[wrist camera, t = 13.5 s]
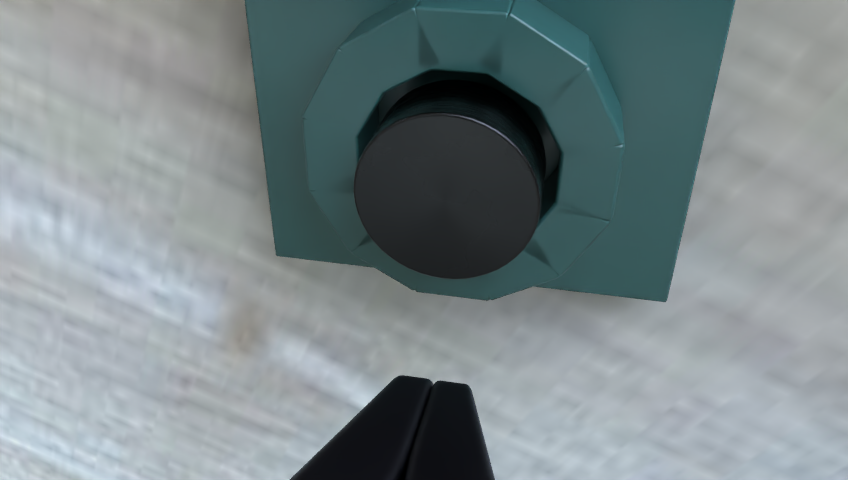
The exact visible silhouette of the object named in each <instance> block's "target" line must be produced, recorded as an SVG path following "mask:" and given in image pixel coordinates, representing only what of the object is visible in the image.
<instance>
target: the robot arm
mask: <svg viewBox="0 0 848 480" xmlns="http://www.w3.org/2000/svg"><path fill="white" fill-rule="evenodd" d="M290 480H495V478H494V474H493V471H492V467H491V463H490V459H489V455H488V451H487V448H486V444H485V440H484V436H483V432H482V428H481V425H480V421H479V417H478V413H477V409H476V405H475V402H474V398H473V394H472V390H471V388H470V387H469V386H468V385H466V384H461V383H454V382H447V381H437V382H435V384H434V385H433V383H432V381H430V380H429V379H425V378H418V377H411V376H404V375H401V376H398V377H396V378H394V379H393V380H392V381H391V382H390V383H389V384H388V385H387V386H386V387H385V388H384V389H383V390H382V391H381V392H380V393H379V394H378V395H377V396H376V397H375V398H374V399H373V400H372V401H371V402H370V403H368V404H367V405H366V406H365V407H364V408H363V409H362V410H361V411H360V412H359V413H358V414H357V415H356V416H355V417H354V418H353V419H352V420H351V421H350V422H349V423H348V424H347V425H346V426H345V427H344V428H343V429H342V430H341V431H340V432H338V433H337V434H336V435H335V436H334V437H333V438H332V439H331V440H330V441H329V442H328V443H327V444H326V445H325V446H324V447H323V448H322V449H321V450H320V451H319V452H318V453H317V454H316V455H315V456H314V457H313V458H312V459H311V460H310V461H309V462H307V463H306V464H305V465H304V466H303V467H302V468H301V469H300V470H299V471H298V472H297V473H296V474H295V475H294V476H293V477H292V478H291V479H290Z"/></svg>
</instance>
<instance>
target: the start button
mask: <svg viewBox="0 0 848 480" xmlns="http://www.w3.org/2000/svg"><path fill="white" fill-rule="evenodd" d="M545 173H546V155H545V149H544V145H543V141H542V138H541V136H540V133H539V131H538V129H537V127H536V125H535V124H534V122H533V120H532V119H531V118H530V116H529V115H528V114H527V113H526V111H525V110H524V109H523V108H522V107H521V106H520V105H519V104H518V103H517V102H515V101H514V100H513V99H511V98H510V97H509V96H507V95H506V94H504V93H502V92H500V91H499V90H497V89H495V88H492V87H490V86H487V85H485V84H481V83H477V82H474V81H467V80H442V81H436V82H432V83H428V84H425V85H422V86H420V87H417V88H415V89H413V90H412V91H410V92H408V93H406V94H405V95H404V96H403V97H401V98H400V99H399V100H398V101H397V102H396V103H395V104H394V105H393V106H392V107H391V108H390V109H389V111H388V112H387V113H386V115H385V116H384V118H383V120H382V121H381V123H380V125H379V126H378V128H377V129H376V131H375V133H374V134H373V136H372V138H371V139H370V141H369V143H368V144H367V146H366V148H365V149H364V151H363V153H362V155H361V157H360V159H359V161H358V164H357V167H356V170H355V176H354V189H353V192H354V200H355V205H356V209H357V212H358V215H359V218H360V220H361V222H362V225H363V226H364V228H365V230H366V232H367V233H368V235H369V236H370V237H371V239H372V240H373V241H374V243H375V244H376V245H377V246H378V247H379V248H380V249H381V250H382V251H383V252H384V253H386V254H387V255H388V256H389V257H390V258H392V259H393V260H395V261H396V262H398V263H399V264H401V265H403V266H405V267H407V268H409V269H411V270H413V271H416V272H418V273H421V274H424V275H428V276H431V277H437V278H442V279H468V278H474V277H479V276H482V275H486V274H489V273H491V272H494V271H496V270H498V269H500V268H502V267H503V266H505V265H507V264H508V263H510V262H511V261H512V260H513V259H515V258H516V257H517V256H518V255H519V254H520V253H521V252H522V251H523V250H524V249H525V247H526V246H527V245H528V243H529V242H530V240H531V238H532V237H533V235H534V233H535V230H536V228H537V225H538V222H539V217H540V211H541V204H542V196H543V188H544V181H545Z"/></svg>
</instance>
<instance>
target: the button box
mask: <svg viewBox="0 0 848 480" xmlns="http://www.w3.org/2000/svg"><path fill="white" fill-rule="evenodd" d="M734 4H735V0H245V8H246V16H247V24H248V32H249V40H250V48H251V56H252V64H253V72H254V81H255V89H256V97H257V105H258V113H259V121H260V129H261V137H262V145H263V154H264V162H265V170H266V178H267V186H268V194H269V202H270V210H271V218H272V227H273V235H274V243H275V251H276V256H281V257H290V258H298V259H307V260H315V261H324V262H332V263H340V264H349V265H357V266H366V267H374V268H376V269H378V270H380V271H381V272H383V273H385V274H386V275H388V276H390V277H391V278H393V279H395V280H396V281H398V282H400V283H401V284H403V285H405V286H407V287H408V288H410V289H412V290H416V291H417V292H422V293H430V294H438V295H446V296H455V297H463V298H471V299H479V300H493V299H497V298H500V297H503V296H506V295H509V294H512V293H515V292H518V291H521V290H524V289H527V288H530V287H533V286H534V287H543V288H551V289H560V290H568V291H576V292H585V293H593V294H602V295H610V296H619V297H627V298H636V299H644V300H652V301H661V302H666V301H667V298H668V294H669V289H670V285H671V280H672V276H673V272H674V267H675V263H676V259H677V254H678V250H679V245H680V241H681V237H682V232H683V228H684V223H685V219H686V215H687V210H688V206H689V202H690V197H691V193H692V188H693V184H694V180H695V175H696V171H697V166H698V162H699V158H700V153H701V149H702V145H703V140H704V136H705V131H706V127H707V123H708V118H709V114H710V109H711V105H712V101H713V96H714V92H715V88H716V83H717V79H718V74H719V70H720V66H721V61H722V57H723V52H724V48H725V44H726V39H727V35H728V31H729V26H730V22H731V17H732V13H733V9H734ZM442 80H467V81H474V82H477V83H481V84H485V85H487V86H490V87H492V88H495V89H497V90H499V91H500V92H502V93H504V94H506V95H507V96H509V97H510V98H511V99H513V100H514V101H515V102H517V103H518V104H519V105H520V106H521V107H522V108H523V109H524V110H525V111H526V113H527V114H528V115H529V116H530V118H531V119H532V120H533V122H534V124H535V125H536V127H537V129H538V131H539V133H540V136H541V138H542V141H543V145H544V149H545V155H546V173H545V181H544V188H543V196H542V204H541V211H540V217H539V222H538V225H537V228H536V230H535V233H534V235H533V237H532V238H531V240H530V242H529V243H528V245H527V246H526V247H525V249H524V250H523V251H522V252H521V253H520V254H519V255H518V256H517V257H516V258H515V259H513V260H512V261H511V262H510V263H508V264H507V265H505V266H503V267H502V268H500V269H498V270H496V271H494V272H491V273H489V274H486V275H482V276H479V277H474V278H468V279H442V278H437V277H431V276H428V275H424V274H421V273H418V272H416V271H413V270H411V269H409V268H407V267H405V266H403V265H401V264H399V263H398V262H396V261H395V260H393V259H392V258H390V257H389V256H388V255H387V254H386V253H384V252H383V251H382V250H381V249H380V248H379V247H378V246H377V245H376V244H375V243H374V241H373V240H372V239H371V237H370V236H369V235H368V233H367V232H366V230H365V228H364V226H363V225H362V222H361V220H360V218H359V215H358V212H357V209H356V205H355V200H354V192H353V189H354V176H355V170H356V167H357V164H358V161H359V159H360V157H361V155H362V153H363V151H364V149H365V148H366V146H367V144H368V143H369V141H370V139H371V138H372V136H373V134H374V133H375V131H376V129H377V128H378V126H379V125H380V123H381V121H382V120H383V118H384V116H385V115H386V113H387V112H388V111H389V109H390V108H391V107H392V106H393V105H394V104H395V103H396V102H397V101H398V100H399V99H400V98H401V97H403V96H404V95H405V94H406V93H408V92H410V91H412V90H413V89H415V88H417V87H420V86H422V85H425V84H428V83H432V82H436V81H442Z"/></svg>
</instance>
